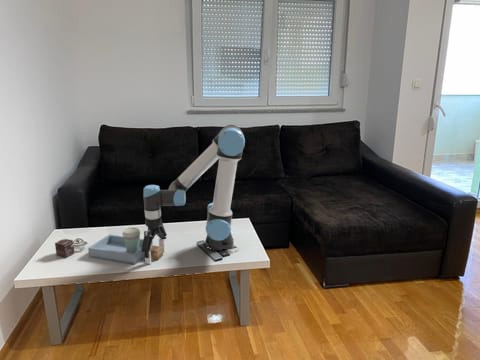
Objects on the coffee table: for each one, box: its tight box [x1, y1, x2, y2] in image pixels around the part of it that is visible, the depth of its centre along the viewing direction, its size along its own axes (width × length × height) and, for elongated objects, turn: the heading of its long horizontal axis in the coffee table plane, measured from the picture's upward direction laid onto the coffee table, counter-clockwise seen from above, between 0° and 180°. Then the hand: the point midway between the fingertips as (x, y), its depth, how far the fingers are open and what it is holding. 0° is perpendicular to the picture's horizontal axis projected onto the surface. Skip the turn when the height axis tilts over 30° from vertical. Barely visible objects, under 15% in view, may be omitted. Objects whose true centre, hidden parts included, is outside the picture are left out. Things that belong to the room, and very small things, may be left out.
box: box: [54, 238, 75, 259], centre depth 190 cm, size 6×6×7 cm
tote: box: [87, 234, 154, 265], centre depth 192 cm, size 26×17×5 cm, turn 73°
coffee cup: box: [122, 226, 141, 254], centre depth 189 cm, size 8×9×12 cm
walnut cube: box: [149, 245, 164, 261], centre depth 187 cm, size 5×5×5 cm
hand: (155, 257), depth 188 cm, fingers open, 13 cm apart
